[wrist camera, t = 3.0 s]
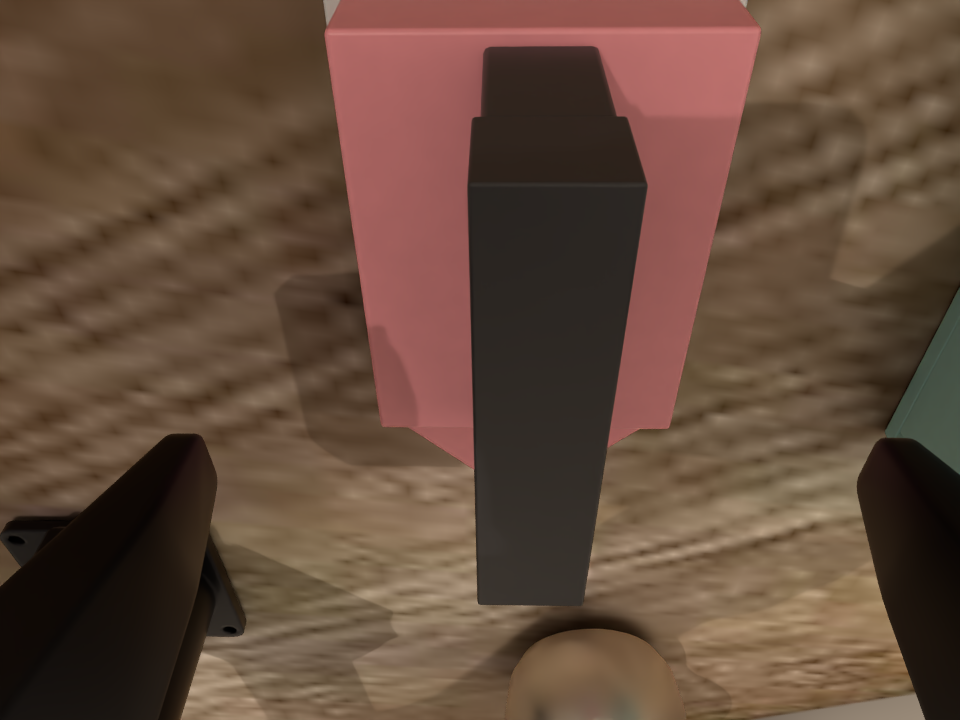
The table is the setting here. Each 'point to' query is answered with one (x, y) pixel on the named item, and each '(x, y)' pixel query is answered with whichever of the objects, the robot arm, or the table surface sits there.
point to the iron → (534, 238)
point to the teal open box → (935, 395)
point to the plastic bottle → (593, 680)
